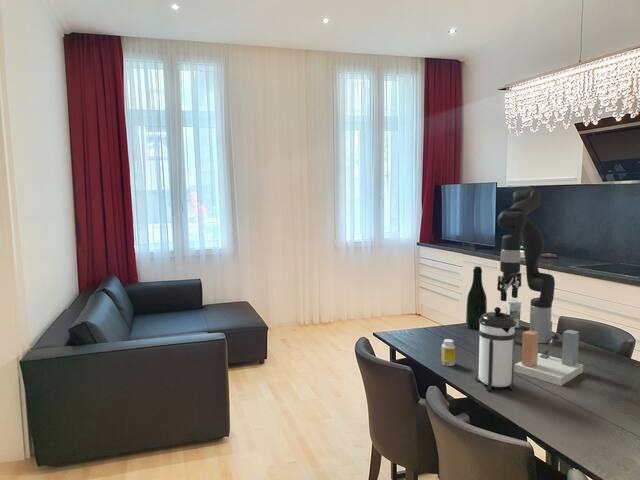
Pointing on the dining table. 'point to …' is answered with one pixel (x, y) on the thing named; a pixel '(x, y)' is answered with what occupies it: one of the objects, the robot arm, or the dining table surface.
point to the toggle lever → (551, 343)
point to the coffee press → (496, 349)
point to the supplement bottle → (448, 353)
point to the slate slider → (570, 347)
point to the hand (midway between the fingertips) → (509, 299)
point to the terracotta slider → (530, 348)
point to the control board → (550, 370)
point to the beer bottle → (476, 300)
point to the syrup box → (514, 310)
